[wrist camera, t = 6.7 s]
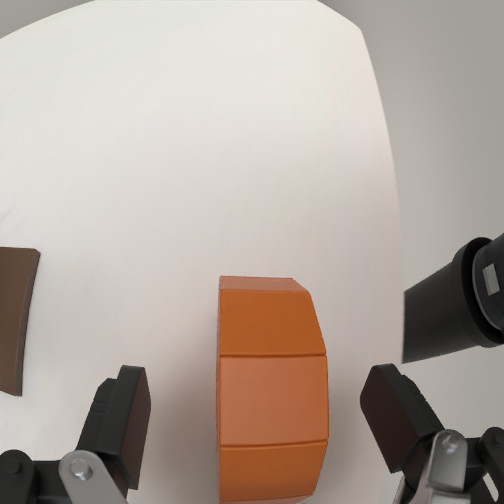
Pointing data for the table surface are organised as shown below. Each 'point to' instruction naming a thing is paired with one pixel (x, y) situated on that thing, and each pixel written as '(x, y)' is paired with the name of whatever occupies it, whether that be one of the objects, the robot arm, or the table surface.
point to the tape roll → (269, 392)
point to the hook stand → (14, 312)
